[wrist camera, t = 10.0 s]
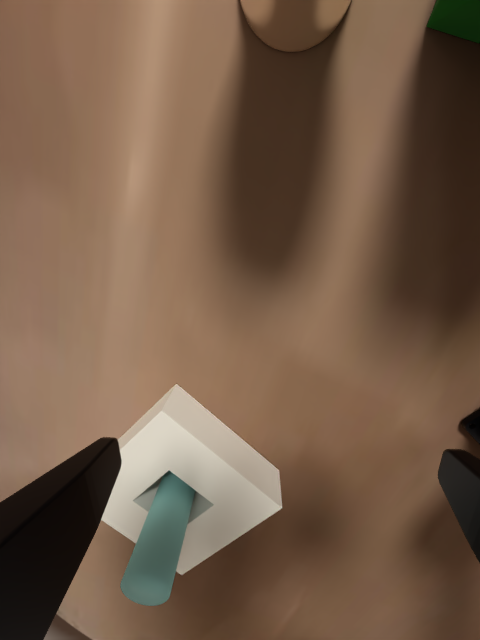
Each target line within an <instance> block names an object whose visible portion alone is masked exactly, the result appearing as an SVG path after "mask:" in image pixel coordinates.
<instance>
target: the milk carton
mask: <svg viewBox="0 0 480 640" xmlns="http://www.w3.org/2000/svg"><path fill="white" fill-rule="evenodd" d="M427 27H429V28H432V29H435V30H438V31H441V32H445V33H448V34H451V35H454V36H457V37H460V38H464V39H467V40H470V41H473V42H476V43H479V44H480V0H436V3H435V5H434V8H433V11H432V13H431V16H430V18H429V21H428V24H427Z"/></svg>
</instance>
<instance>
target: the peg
mask: <svg viewBox="0 0 480 640" xmlns="http://www.w3.org/2000/svg"><path fill="white" fill-rule="evenodd" d="M195 491H196V490H194V489H193V488H192V487H190V486H189V485H188V484H186V483H185V482H184V481H183V480H181V479H180V478H179V477H177V476H176V475H175V474H173V473H172V472H171V471H170V470H169V471H167V472H166V473H165V474H164V475H163V477H162V479H161V482H160V484H159V487H158V489H157V492H156V495H155V497H154V500H153V502H152V505H151V507H150V510H149V512H148V515H147V517H146V520H145V522H144V525H143V528H142V530H141V533H140V535H139V538H138V540H137V543H136V545H135V548H134V550H133V553H132V555H131V558H130V561H129V563H128V566H127V568H126V571H125V573H124V576H123V578H122V581H121V590H122V592H123V593H124V595H125V596H126V597H127V598H129V599H130V600H132V601H133V602H136V603H138V604H141V605H147V606H155V605H160V604H163V603H164V602H166V601H167V600H168V599H169V597H170V593H171V589H172V585H173V581H174V577H175V573H176V569H177V565H178V561H179V556H180V552H181V548H182V544H183V540H184V536H185V532H186V528H187V524H188V520H189V516H190V512H191V507H192V503H193V499H194V495H195Z"/></svg>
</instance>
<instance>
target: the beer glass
mask: <svg viewBox="0 0 480 640" xmlns="http://www.w3.org/2000/svg"><path fill="white" fill-rule="evenodd" d="M350 2H351V0H240V3H241V7H242V10H243V13H244V15H245V18H246V20H247V22H248V24H249V26H250V27H251V29H252V30H253V32H254V33H255V34H256V35H257V36H258V37H259V38H260V39H261V40H262V41H263V42H264V43H266V44H267V45H269V46H270V47H272V48H274V49H277V50H281V51H286V52H297V51H302V50H306V49H309V48H311V47H313V46H315V45H317V44H318V43H320V42H321V41H323V40H324V39H325V38H326V37H327V36H329V35H330V34H331V33H332V31H333V30H334V29H335V28H336V27H337V25H338V24H339V23H340V21H341V20H342V18H343V16H344V15H345V13H346V11H347V9H348V7H349V5H350Z"/></svg>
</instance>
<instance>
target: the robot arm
mask: <svg viewBox="0 0 480 640" xmlns="http://www.w3.org/2000/svg"><path fill="white" fill-rule="evenodd" d="M470 424H471V425H470ZM462 426H463V427H464V428H465V429H466V430H467V431H468V432H469V434H470V435H471V436H472V437H473V438H474V439H475V440H476V441H477V442H478V443H479V444H480V410H478V411H477V412H475V413H474V414H472V415H470V416H469V417H467V418H466V419H464V420H463V422H462ZM121 464H122V459H121V454H120V448H119V443H118V440H117V439H116V438H111V437H103V438H100V439H98V440H97V441H95V442H94V443H92V444H91V445H89V446H88V447H86V448H84V449H83V450H81V451H80V452H78V453H77V454H75V455H74V456H72V457H70V458H69V459H67V460H66V461H64V462H63V463H61V464H59V465H58V466H56V467H55V468H53V469H52V470H50V471H49V472H47V473H45V474H44V475H42V476H41V477H39V478H38V479H36V480H35V481H33V482H31V483H30V484H28V485H27V486H25V487H24V488H22V489H20V490H19V491H17V492H16V493H14V494H13V495H11V496H10V497H8V498H6V499H5V500H3V501H2V502H0V640H43V639H44V637H45V635H46V633H47V631H48V629H49V627H50V625H51V623H52V621H53V619H54V617H55V615H56V613H57V611H58V609H59V607H60V604H61V602H62V600H63V598H64V596H65V594H66V592H67V590H68V588H69V586H70V584H71V582H72V580H73V578H74V576H75V574H76V572H77V570H78V568H79V566H80V564H81V561H82V559H83V557H84V555H85V553H86V551H87V549H88V547H89V545H90V543H91V541H92V539H93V537H94V535H95V533H96V530H97V528H98V526H99V523H100V521H101V519H102V516H103V513H104V511H105V508H106V506H107V503H108V500H109V498H110V495H111V493H112V490H113V487H114V485H115V482H116V479H117V477H118V474H119V472H120V469H121ZM438 479H439V482H440V485H441V487H442V489H443V491H444V493H445V495H446V497H447V499H448V501H449V503H450V505H451V508H452V510H453V512H454V514H455V516H456V518H457V520H458V522H459V524H460V526H461V528H462V530H463V532H464V535H465V537H466V539H467V541H468V542H469V544H470V546H471V548H472V550H473V552H474V554H475V555H476V557H477V559H478V561H479V563H480V459H478V458H477V457H475V456H473V455H472V454H470V453H468V452H466V451H464V450H461V449H446V450H445V451H444V452H443V455H442V458H441V462H440V466H439V470H438Z"/></svg>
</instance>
